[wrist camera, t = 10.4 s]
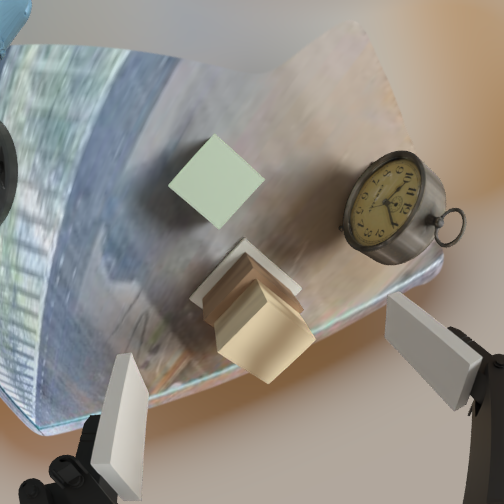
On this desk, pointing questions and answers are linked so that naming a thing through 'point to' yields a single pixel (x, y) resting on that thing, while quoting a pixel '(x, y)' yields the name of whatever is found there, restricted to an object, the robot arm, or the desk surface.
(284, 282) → the mat
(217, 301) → the walnut brick
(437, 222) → the alarm clock
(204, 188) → the sage brick
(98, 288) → the desk surface
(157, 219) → the desk surface
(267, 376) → the maple brick
